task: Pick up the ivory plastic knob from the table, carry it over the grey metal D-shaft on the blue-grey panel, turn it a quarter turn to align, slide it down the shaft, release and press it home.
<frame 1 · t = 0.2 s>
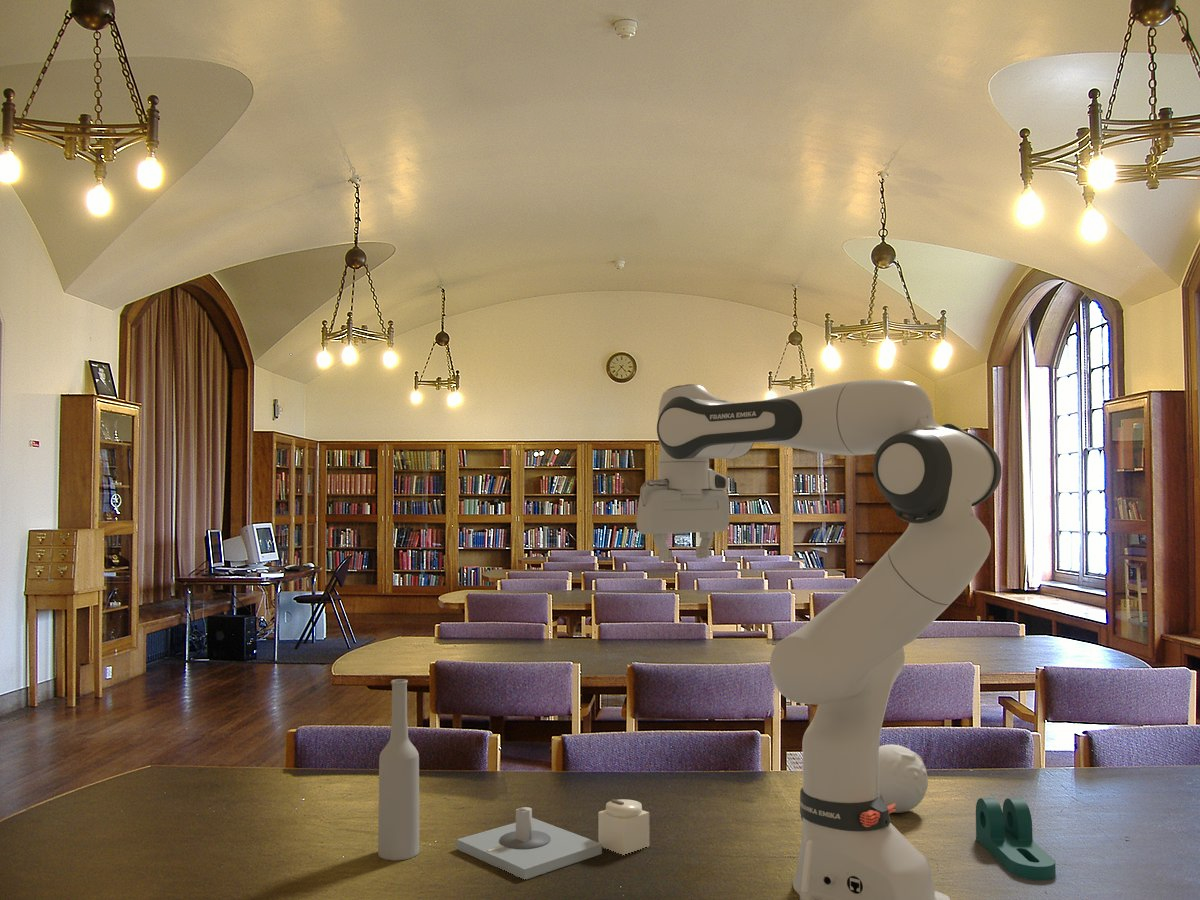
hand: (684, 559, 171), 47 cm above the table, fingers open, 8 cm apart
knob: (624, 846, 165), on the table
bottle: (398, 854, 162), on the table
panel: (528, 851, 163), on the table
decorative ball: (894, 812, 183), on the table
bracket: (1017, 861, 159), on the table
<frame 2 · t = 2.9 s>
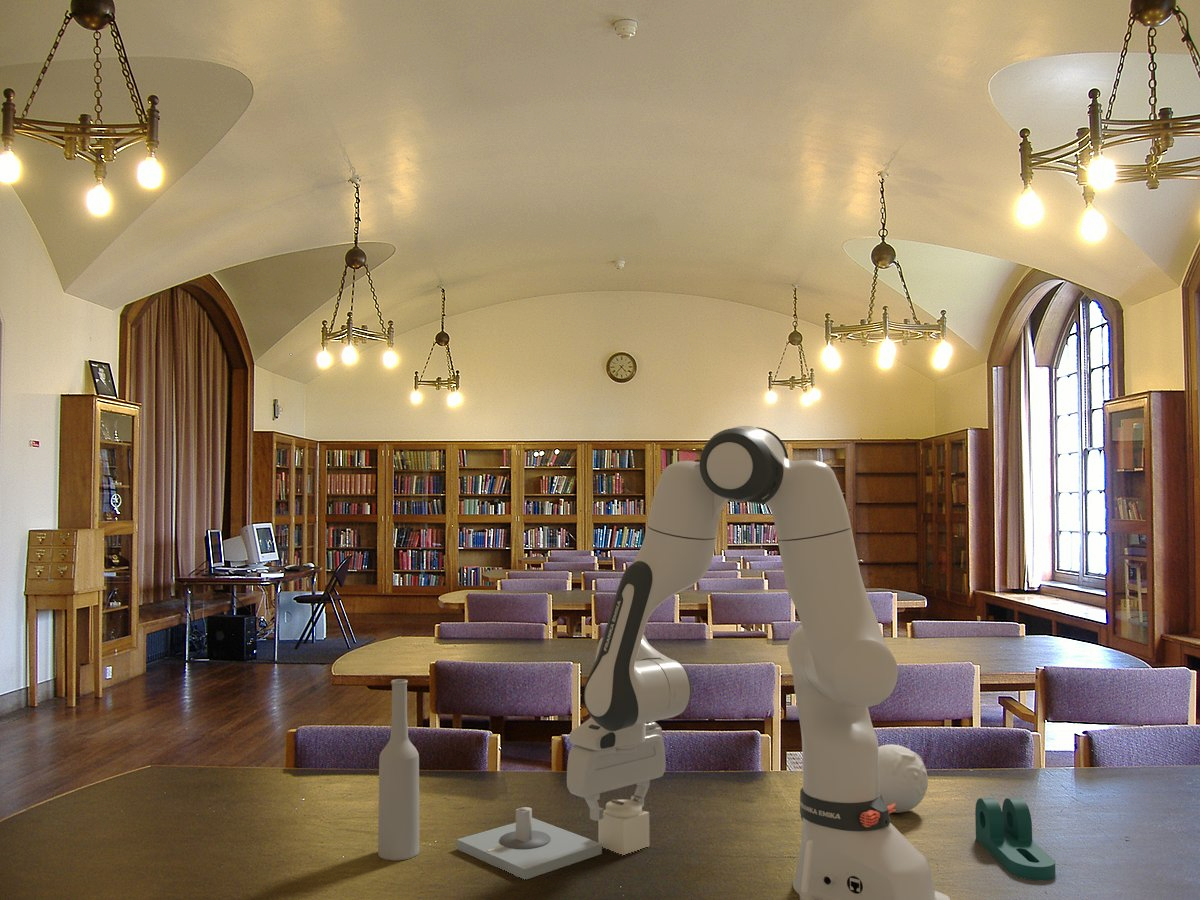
hand: (617, 813, 165), 6 cm above the table, fingers open, 8 cm apart
knob: (623, 846, 165), on the table, touching gripper
everything else where it was.
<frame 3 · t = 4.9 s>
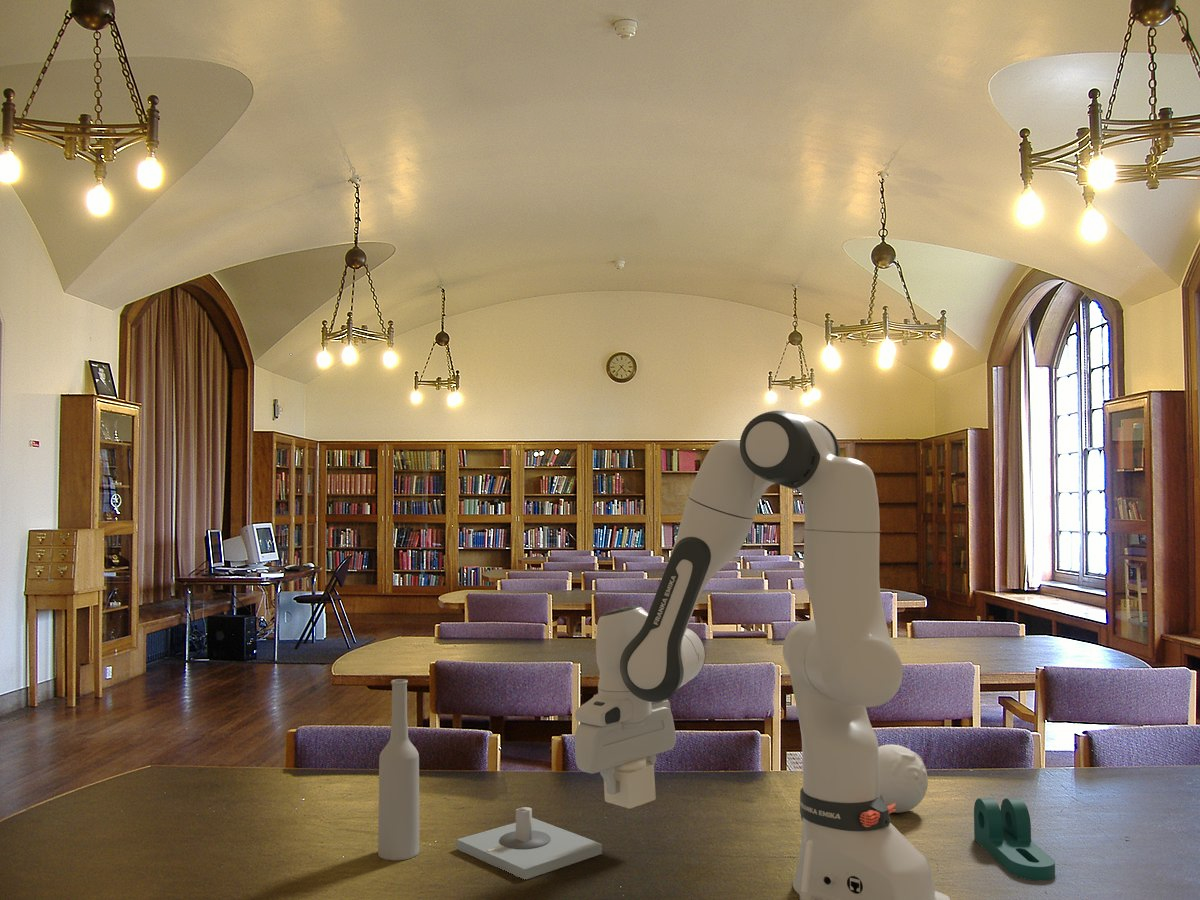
hand: (629, 787, 165), 10 cm above the table, fingers closed on knob, 6 cm apart
knob: (630, 800, 165), point 7 cm above the table, touching gripper
everything else where it was.
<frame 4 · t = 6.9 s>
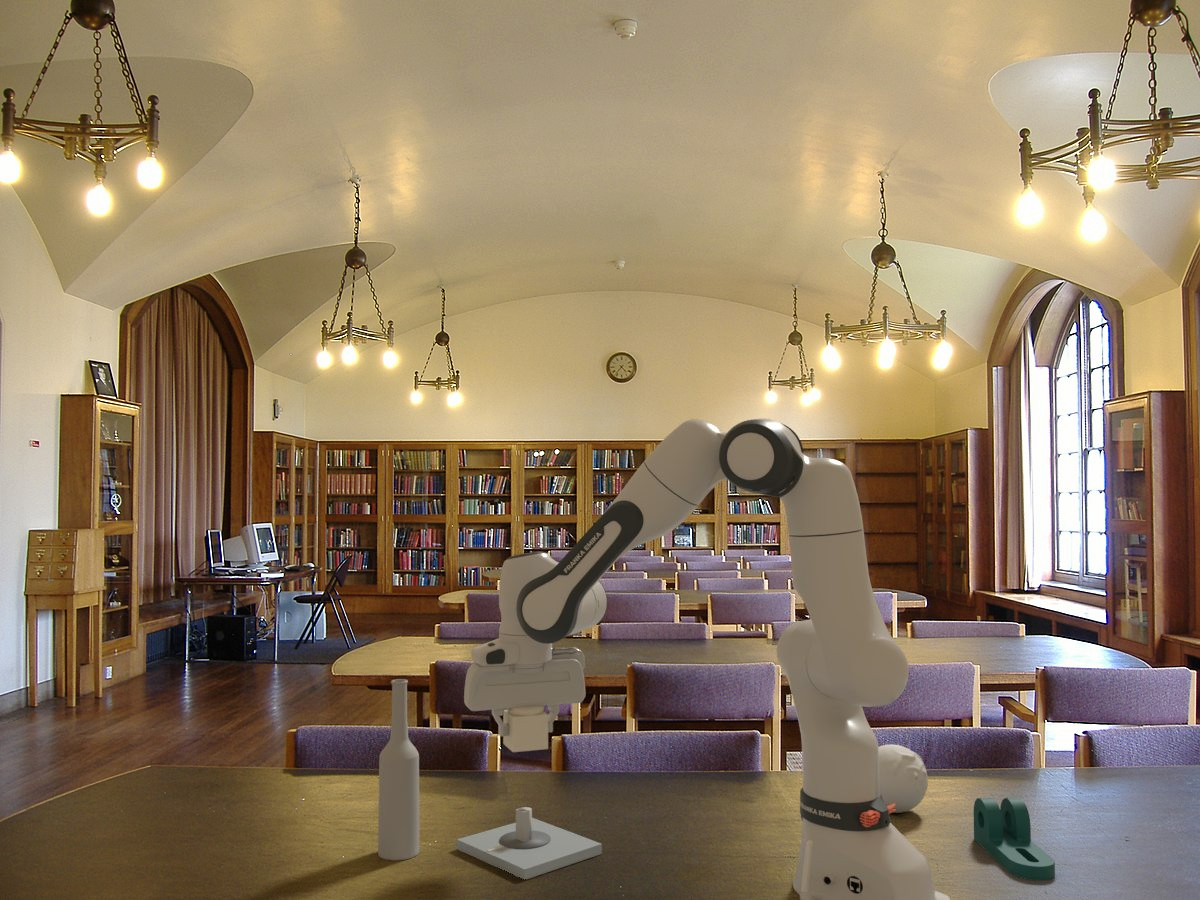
hand: (525, 733, 164), 19 cm above the table, fingers closed on knob, 6 cm apart
knob: (525, 746, 164), point 17 cm above the table, touching gripper
everything else where it was.
when the fingers open (5 cm above the table, at t = 9.9 s): knob stays where it is, resting on panel.
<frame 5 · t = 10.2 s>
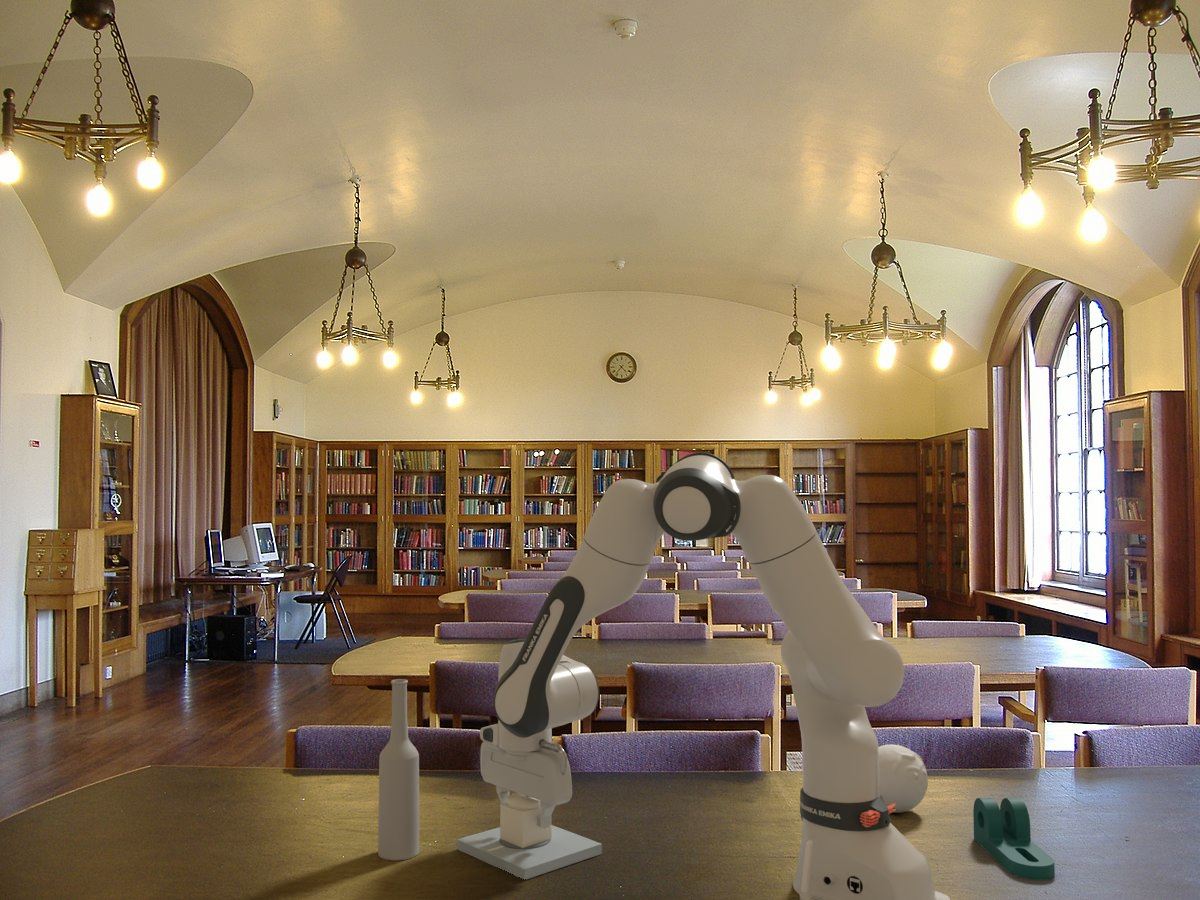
hand: (525, 819, 164), 5 cm above the table, fingers open, 8 cm apart
knob: (525, 838, 163), point 2 cm above the table, touching panel
everything else where it was.
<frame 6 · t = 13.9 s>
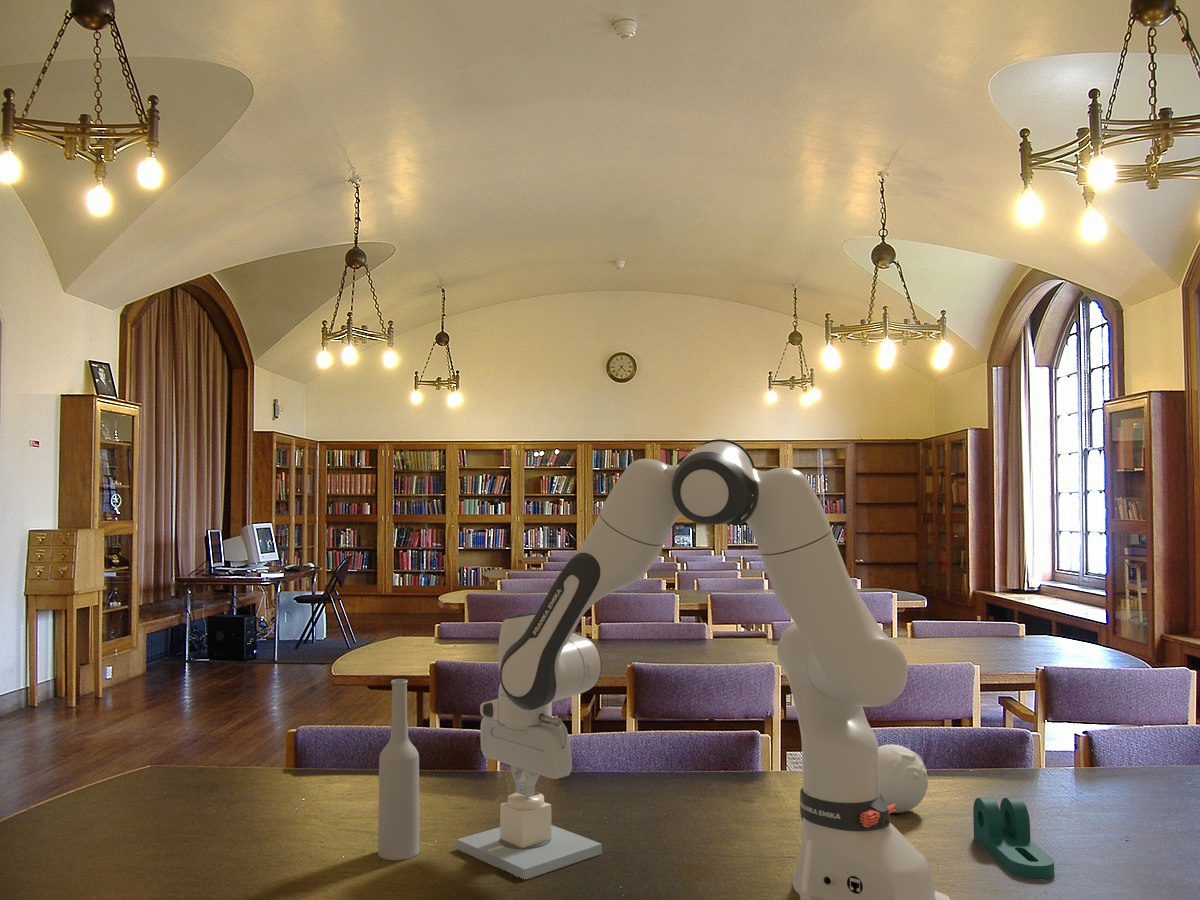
hand: (525, 794, 164), 9 cm above the table, fingers closed
nothing on the table moved.
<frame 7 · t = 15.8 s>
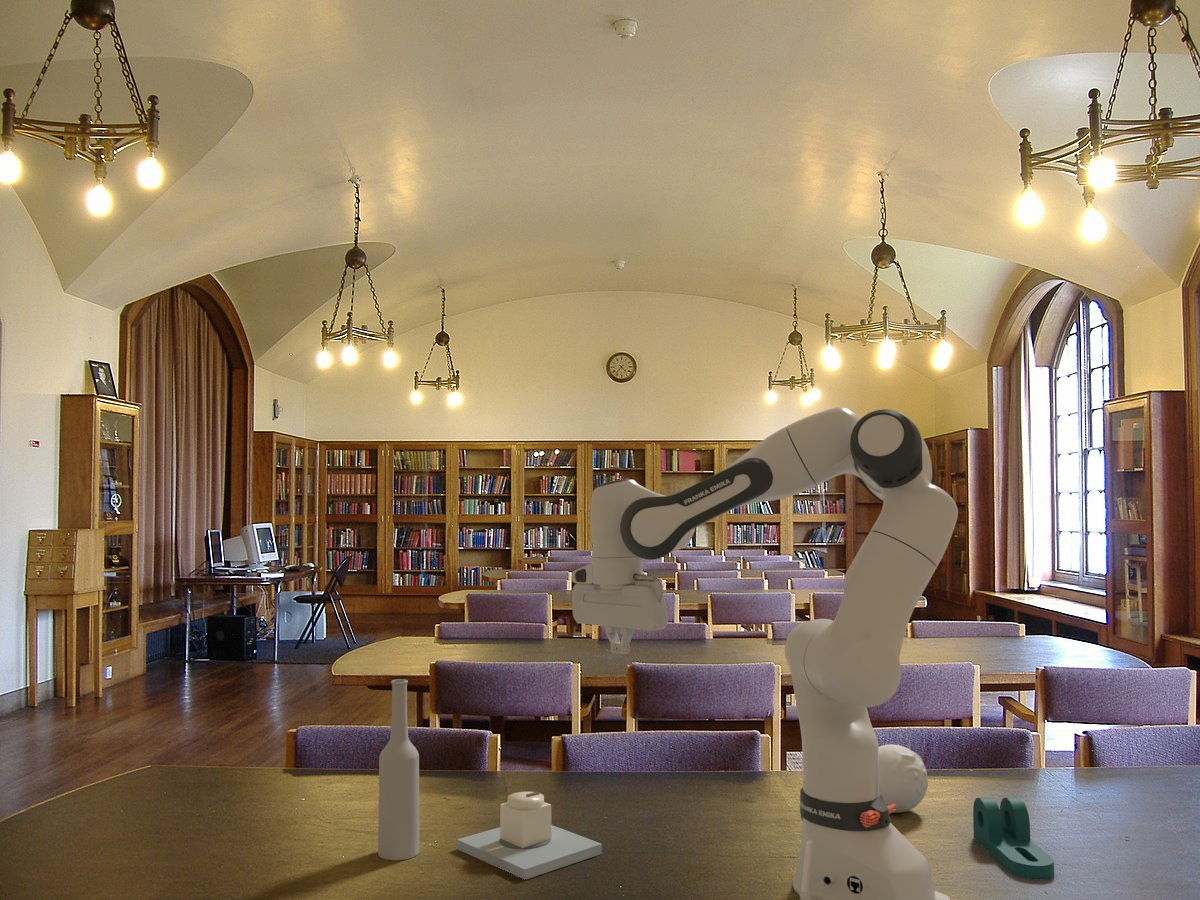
hand: (620, 653, 172), 31 cm above the table, fingers closed
nothing on the table moved.
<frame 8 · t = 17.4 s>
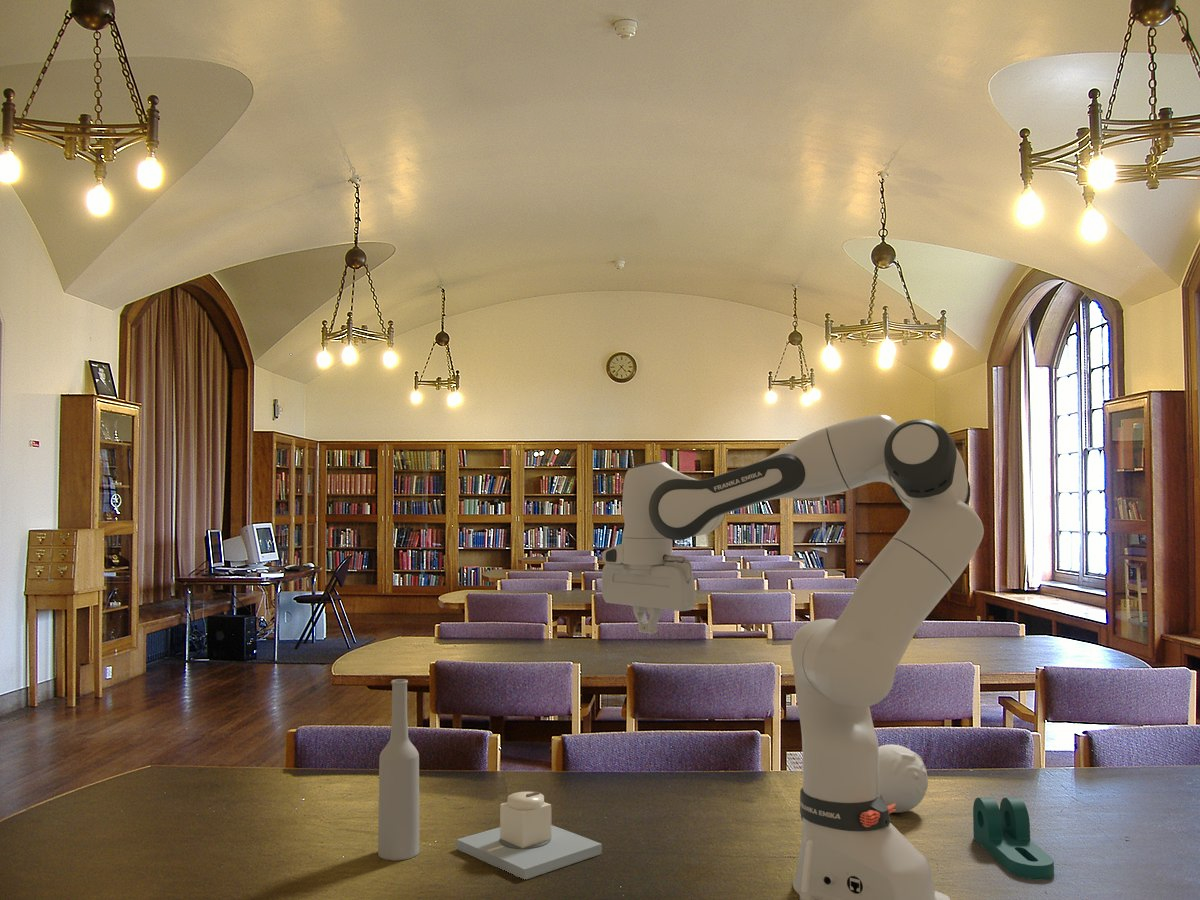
hand: (647, 632, 175), 34 cm above the table, fingers closed
nothing on the table moved.
at the end: knob 0.1 cm from the target spot on the panel, point 1.8 cm above the panel's base; knob tilted 0°; the gripper is holding nothing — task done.
